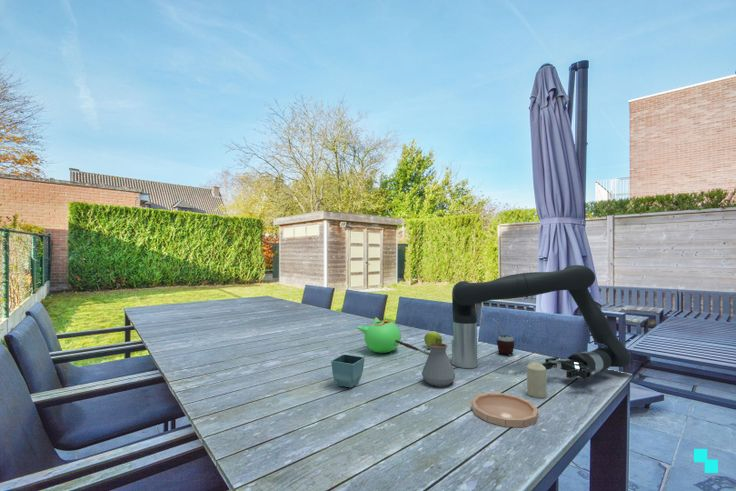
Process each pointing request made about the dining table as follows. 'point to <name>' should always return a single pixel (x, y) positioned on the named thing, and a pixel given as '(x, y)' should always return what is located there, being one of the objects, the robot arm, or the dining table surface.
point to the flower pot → (347, 369)
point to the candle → (536, 380)
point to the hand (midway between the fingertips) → (555, 370)
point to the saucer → (504, 410)
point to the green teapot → (381, 336)
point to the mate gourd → (505, 344)
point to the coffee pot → (435, 364)
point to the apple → (432, 338)
